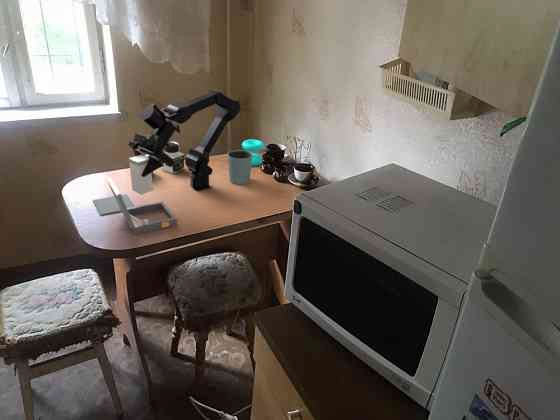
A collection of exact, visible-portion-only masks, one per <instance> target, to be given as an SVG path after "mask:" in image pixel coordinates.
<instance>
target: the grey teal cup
mask: <svg viewBox="0 0 560 420" xmlns="http://www.w3.org/2000/svg"><path fill="white" fill-rule="evenodd" d="M252 153H253V152H250V151H247V150H245V149H234V150H230V151H229V152H227V163H228V164H227V165H228V177H229V182H230V183H231V184H232V185H237V186H243V185H244V184H245V185H247V184H249V183H250V181H251V172H252V166H251V164H252V156H253V155H252Z"/></svg>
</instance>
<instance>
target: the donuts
mask: <svg viewBox="0 0 560 420" xmlns="http://www.w3.org/2000/svg"><path fill="white" fill-rule="evenodd" d="M241 147H242V148H243V150H245V151H249V152H251V153H252V155H253V156H252V164H251V167H255V166H260V165H262V164H263V163H262V158H263V156H262V155H260V154H259V153H257V152H260V151H263V149H264V148H265V144H264V143H263V141H262V140H258V139H246V140H244V141H243V142H242V143H241ZM261 163H262V164H261Z"/></svg>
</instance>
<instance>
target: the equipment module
mask: <svg viewBox="0 0 560 420" xmlns="http://www.w3.org/2000/svg"><path fill="white" fill-rule="evenodd" d="M148 162H149V158H148V157H146V156H143V155H139V156H135V155H134V156H132V157H129V158H128V163H129V170H130V180H131V181H130V182H131V190H132V191H133V192H135V193H136V194H138V195H145V194H147V193H150V192H152V191H154V187H153V186H154V185H153V174H152V172H151V173H150V174H148V175H147V176H145V177H142V176H141V175H142V173H143V171H144V169H145V167H146V165H147V164H148Z"/></svg>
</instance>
